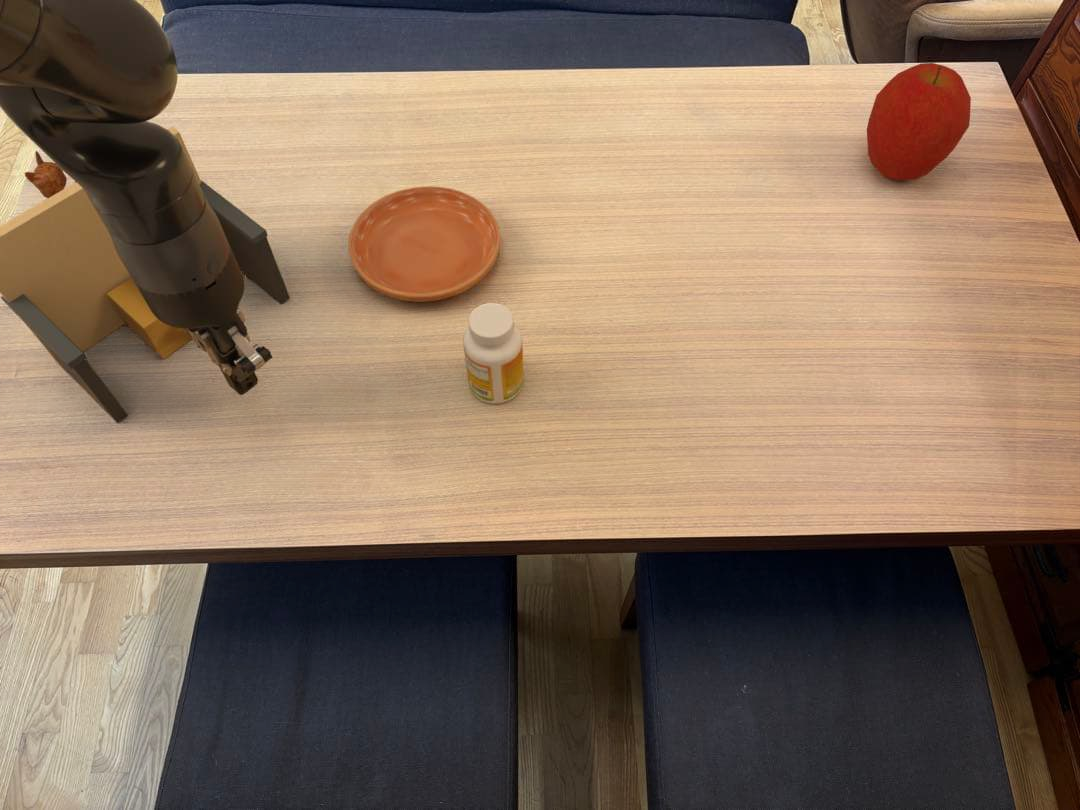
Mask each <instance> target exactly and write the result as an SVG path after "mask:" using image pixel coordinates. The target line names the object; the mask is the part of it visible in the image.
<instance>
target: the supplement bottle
mask: <svg viewBox="0 0 1080 810" xmlns="http://www.w3.org/2000/svg"><path fill="white" fill-rule="evenodd" d="M462 337H463V339H462V340H463V341H462V346H463V352H464V359H465V367H466V375H467V382H468V386H469V389H470V391H471V393H472V394H473V395H474V396H475V397H476V398H477V399H478V400H480V401H482V402H484V403H487V404H494V405H496V404H497V405H498V404H503V403H506V402H509V401H511V400H513V399H514V398H515V397H516V396H518V395H519V393H520V392H521V390H522V388H523V385H524V377H525V376H524V352H523V351H524V349H523V346H524V345H523V336H522V333H521V331H520V328H519V327H518V326H517V324H516V323H515V321H514V316H513V312H511V310H510V309H509V308H508V307H507V306H505V305H504V304H501V303H497V302H486V303H483V304H481V305H478V306H477V307H475V308H474V309H472V311H471V312H470V314H469V317H468V326H467V328H466V329H465V331H464V335H463V336H462Z"/></svg>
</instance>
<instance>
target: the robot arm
mask: <svg viewBox="0 0 1080 810" xmlns="http://www.w3.org/2000/svg"><path fill="white" fill-rule="evenodd" d="M177 63H178V62H177V59H176V54H175V51H174V48H173V45H172V43H171V41H170V39H169V37H168V35H167V33H166V32H165V30H164V28H163V27H162V25H161V24H160V23H159V21H158V20H157V19H156V18H155V16H153V14H152V13H151V12H150V11H149V10H148V9H147V8H145V6H144V5H142V4H141V3H140V2H139V1H137V0H0V109H1V110H2V111H3V113H4V114H5V115H6V116H7V117H8V118H9V120H10V121H11V122H12V123H13V124H14V125H15V127H17V128H18V129H19V130H20V131H21V132H22V133H23V134H24V135H25V136H26V137H27V138H28V139H29V140H31V141H32V142H33V143H34V144H35V145H36V146H37V147H38V148H39V149H40V150H41V151H42V152H43V153H44V154H45V155H46V156H47V157H48V158H49V159H50V160H51V161H52V162H53V163H56V164H57V165H58V166H59V167H60V168H61V169H62V170H63V173H64V174H66V175H67V176H68V177H70V178H71V179H72V180H73V181H74V182H75V181H76V182H77V183H78V184H79V185H80V186H81V187H82V188H83V189H84V190H85V192H86V194H87V196H88V198H89V199H90V201H91V203H92V205H93V207H94V208H95V210H96V212H97V213H98V215H99V217H100V218H101V220H102V222H103V223H104V225H105V227H106V229H107V230H108V232H109V234H110V236H111V239H112V242H113V245H114V247H115V249H116V252H117V254H118V256H119V258H120V259H121V261H122V263H123V264H124V266H125V268H126V269H127V271H128V273H129V274H130V276H131V278H132V279H133V281H134V283H135V284H136V286H137V288H138V290H139V291H140V293H141V295H142V296H143V298H144V300H145V301H146V303H147V305H148V306H149V308H150V310H151V311H152V313H153V314H154V315H155V317H156V318H157V319H159V320H160V321H161V322H163V323H165V324H167V325H169V326H172V327H176V328H182V329H185V330H186V331H187V332H188V333H189V335H190V336H191V337H192V339H191V340H193V342H194V344H195V345H196V347H197V348H198V349H200V350H202V351H203V352H205V353H207V354H208V356H209V358H210V361H211V362H212V363H213V364H215V365H216V366H217V367H219V369H220V372H221V374H222V375H223V377H224V379H225V380H226V382H227V384H228V386H229V387H230V388H231V389H232V390H233V391H235V392H236V394H238V395H239V396H243V395H244V394H246V393H248V392H249V391H251V390H252V389H253V388H254V387H256V386H257V385H258V383H259V379H258V376H257V375H256V371H257V370H258V369H260V368H261V367H263V366H264V365H265V364H266V363H267V362H269V361H270V360H272V359H273V355H272V353H271V351H270V349H269V348H267V347H266V346H264V345H262V346H260V344H257V343H256V344H254V345H252V344H251V339H250V336H249V333H248V329H247V325H246V324H245V322H246V319H245V317H244V315H243V314H244V313H243V312H242V310H241V309H240V307H239V306H240V303H241V300H242V299H243V296H244V292H245V283H246V282H245V278H244V274H243V273H242V272H241V270H240V268H239V265H238V263H237V261H236V258H235V256H234V254H233V252H232V249H231V247H230V245H229V242H228V240H227V238H226V236H225V233H224V231H223V229H222V226H221V224H220V222H219V220H218V217H217V215H216V213H215V212H214V210H213V209H212V207H211V206H210V204H209V203H208V201H207V199H206V198H205V196H204V194H203V192H202V190H201V187H200V185H199V183H198V180H197V178H196V176H195V174H194V171H193V169H192V167H191V164H190V162H189V160H188V158H187V155H186V153H185V151H184V149H183V147H182V145H181V144H180V142H179V141H178V139H177V138H176V137H175V136H174V135H173V134H172V133H171V132H170V131H168V130H167V129H168V128H165V127H164V126H161V125H159V124H157V123H155V122H151V121H150V120H153V119H154V118H156V117H157V116H159V115H161V113H162V112H163V111H164V110H165V109H166V108H167V107H168V105H169V104H170V103H171V101H172V100H173V97H174V94H175V92H176V88H177V84H178V76H179V75H178V64H177Z"/></svg>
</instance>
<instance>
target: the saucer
mask: <svg viewBox="0 0 1080 810" xmlns="http://www.w3.org/2000/svg"><path fill="white" fill-rule="evenodd" d="M493 214H494V213H492V211H491V210H490V209H489V208H488V207H487V206H486V205H485V204H484V203H483V202H481V201H480V200H479V199H477V198H476V197H474V196H472V195H471V194H468V193H466V192H464V191H461V190H459V189H458V190H457V189H454V188H449V187H444V186H433V185H431V186H429V185H428V186H427V185H426V186H415V187H409V188H404V189H401V190H397V191H394V192H391V193H389V194H386V195H385V196H383V197H381V198H379V199H377V200H375V201H374V202H372V203H371V204H369V205H368V206H367V207H366V208H365V209H364V210H363V211H362V212H361V213H360V214H359V216H358V217H357V218H356V219H355V221H354V222H353V225H352V227H351V229H350V232H349V236H348V242H347V243H348V244H347V250H348V255H349V258H350V262H351V264H352V267H353V268H354V270H355V272H356V273H357V275H358V276H359V278H360V279H361V280H362V281H363V282H364V283H365V284H366V285H368V286H369V287H370V288H372V289H374V291H376V292H378V293H380V294H382V295H384V296H387V297H389V298H392V299H395V300H399V301H405V302H412V303H413V302H418V303H420V302H421V303H422V302H423V303H425V302H427V303H428V302H435V301H440V300H441V301H442V300H445V299H449V298H452V297H455V296H457V295H460V294H462V293H464V292H466V291H467V290H469V289H471V288H472V287H474V286H475V285H477V284H478V283H480V281H481V280H483V278H485V277H486V276H487V274H488V273H489V272H490V270H491V269H492V268H493V266H494V264H495V263H496V260H497V258H498V254H499V250H500V245H501V244H500V243H501V233H500V228H499V225H498V221H497V220H496V218H495V216H494V215H493Z"/></svg>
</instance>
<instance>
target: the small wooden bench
mask: <svg viewBox="0 0 1080 810" xmlns="http://www.w3.org/2000/svg"><path fill="white" fill-rule="evenodd" d="M166 129H167V130H168V131H170V132H171V133H172V134H173V135H174V136H175V137H176V138H177V139H178V141H179V142H180V144H181V145H182V147H183V149H184V151H185V153H186V155H187V158H188V160H189V162H190V164H191V167H192V169H193V171H194V174H195V176H196V178H197V180H198V183H199V185H200V187H201V190H202V192H203V194H204V196H205V198H206V199H207V201H208V203H209V204H210V206H211V207H212V209H213V210H214V212H215V213H216V215H217V217H218V220H219V222H220V224H221V226H222V229H223V231H224V233H225V236H226V238H227V240H228V242H229V245H230V247H231V249H232V252H233V254H234V256H235V258H236V261H237V263H238V265H239V268H240V270H241V272H242V275H244V276H245V277H247V278H248V279H250V281H252V282H253V283H254V284H256V286H258V288H260V289H262V290H263V291H264V292H265V293H266V294H268V295H269V296H270V297H271V298H273V299H274V300H275V301H276V302H277V303H279V304H280V305H283V304H285V303H286V302H287V301H288V300H290V299H291V297H290V295H289V292H288V289H287V287H286V284H285V281H284V278H283V276H282V274H281V271H280V268H279V266H278V263H277V261H276V258H275V255H274V253H273V250H272V248H271V244H270V242H269V240H268V238H267V237H268V232H267V230H266V229H265V228H264V227H263V226H261V225H260V224H259V223H258V222H256V221H255V220H254V219H252V218H251V217H250V216H248V215H247V214H246V213H245V212H244V211H242V210H241V209H239V208H238V207H236V205H234V204H233V203H231V202H230V201H229V200H228V199H226V198H225V197H224V196H223V195H221V194H220V193H219V192H218V191H216V190H215V189H213V188H212V187H211V186H209V184H207V183H206V182H205V181H203V180H202V179H201V178H200V175H199V173H198V171H197V169H196V166H195V165H194V162H193V160H192V158H191V156H190V153H189V151H188V148H187V147H186V144H185V142H184V139H183V137H182V135H181V133H180V131H179V130H177V129H176V128H175V127H173V126H170V127H168V128H166ZM130 278H131V276H130V274H129V273H128V271H127V269H126V268H125V266H124V264H123V263H122V261H121V259H120V258H119V256H118V254H117V252H116V249H115V247H114V245H113V242H112V239H111V236H110V234H109V232H108V230H107V229H106V227H105V225H104V223H103V222H102V220H101V218H100V217H99V215H98V213H97V212H96V210H95V208H94V207H93V205H92V203H91V201H90V199H89V198H88V196H87V194H86V192H85V190H84V189H83V188H82V187H81V186H80V185H79V184H78V183H77V182H75V181H74V182H73V183H72V184H70V185H69V186H67V187H65V188H64V189H63V190H62V191H60V192H58V193H57V194H55V195H53V196H51V197H50V198H46V199H45V200H43V201H41V202H39V203H38V204H36V205H34V206H33V207H30V208H29V209H27V210H26V211H23V212H22V213H21V214H19V215H17V216H15V217H14V218H12V219H10V220H8V221H7V222H5V223H3V224H2V225H0V295H1V297H0V298H1V300H2V301H3V302H4V304H5V305H7V306H8V307H9V309H10V310H11V311H12V312H14V314H15V315H16V316H17V317H18V318H19V319H20V320H21V321H22V322H23V323H24V324H25V325H26V327H27V328H28V329H29V330H30V332H31V333H32V334H33V336H34V337H35V338H36V339H37V340H38V341H39V343H40V344H41V345H42V346H43V348H44V349H45V350H46V351H47V352H48V354H49V355H50V356H51V357H52V358H53V360H54V361H55V362H56V363H57V364H58V365H59V366H60V367H61V368H62V369H63V370H64V371H65V372H66V373H67V374H68V375H69V376H70V377H71V378H72V379H73V381H75V382H76V384H78V385H79V386H80V387H81V389H83V390H84V391H85V392H86V393H87V395H89V396H90V397H91V398H92V400H94V401H95V403H97V404H98V405H99V406H100V408H102V409H103V410H104V412H106V413H107V415H108V416H109V417H110V418H111V419H112V420H113V421H114V422H116V423H117V424H119V423H120V422H122V421H123V420H124V419H126V418H127V417H128V416H129V415H128V413H127V412H126V410H125V409H124V408H123V406H122V405H121V404H120V402H119V401H118V400H117V399H116V397H115V396H114V394H112V392H111V391H110V390H109V388H108V387H107V386H106V384H105V383H104V382H103V380H102V379H101V378H100V376H99V375H98V374H97V372H96V371H95V369H93V367H92V366H91V365H90V364H89V362H88V361H87V359H88V357H87V355H86V354H85V353H84V352H85V351H87V350H88V349H90V348H91V347H93V346H94V345H96V344H97V343H98V342H100V341H102V340H103V339H104V338H106V337H107V336H109V335H111V334H112V333H113V332H115V331H116V330H118V329H119V328H121V327H122V326H124V325H126V323H125V321H124V320H123V318H122V317H121V315H120V314H119V312H118V311H117V309H116V308H115V306H114V305H113V303H112V302H111V300H110V299H109V297H108V296H107V293H108V292H110V291H111V290H113V289H114V288H116V287H117V286H119V285H120V284H122V283H123V282H125V281H126V280H128V279H130Z"/></svg>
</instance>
